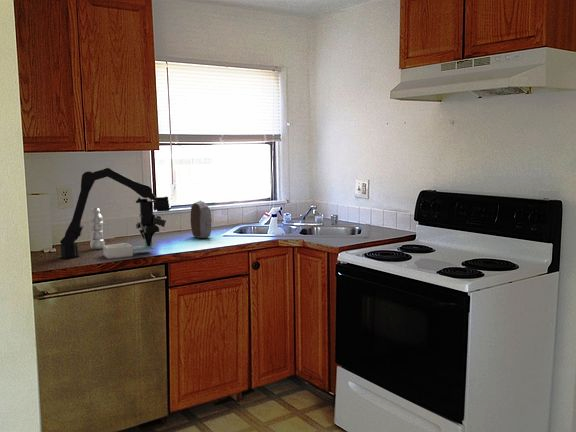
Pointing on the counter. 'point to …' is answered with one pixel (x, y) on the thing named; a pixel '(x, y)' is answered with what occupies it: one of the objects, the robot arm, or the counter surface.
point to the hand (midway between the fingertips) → (148, 245)
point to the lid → (143, 247)
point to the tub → (117, 250)
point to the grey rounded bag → (200, 220)
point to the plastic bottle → (96, 229)
